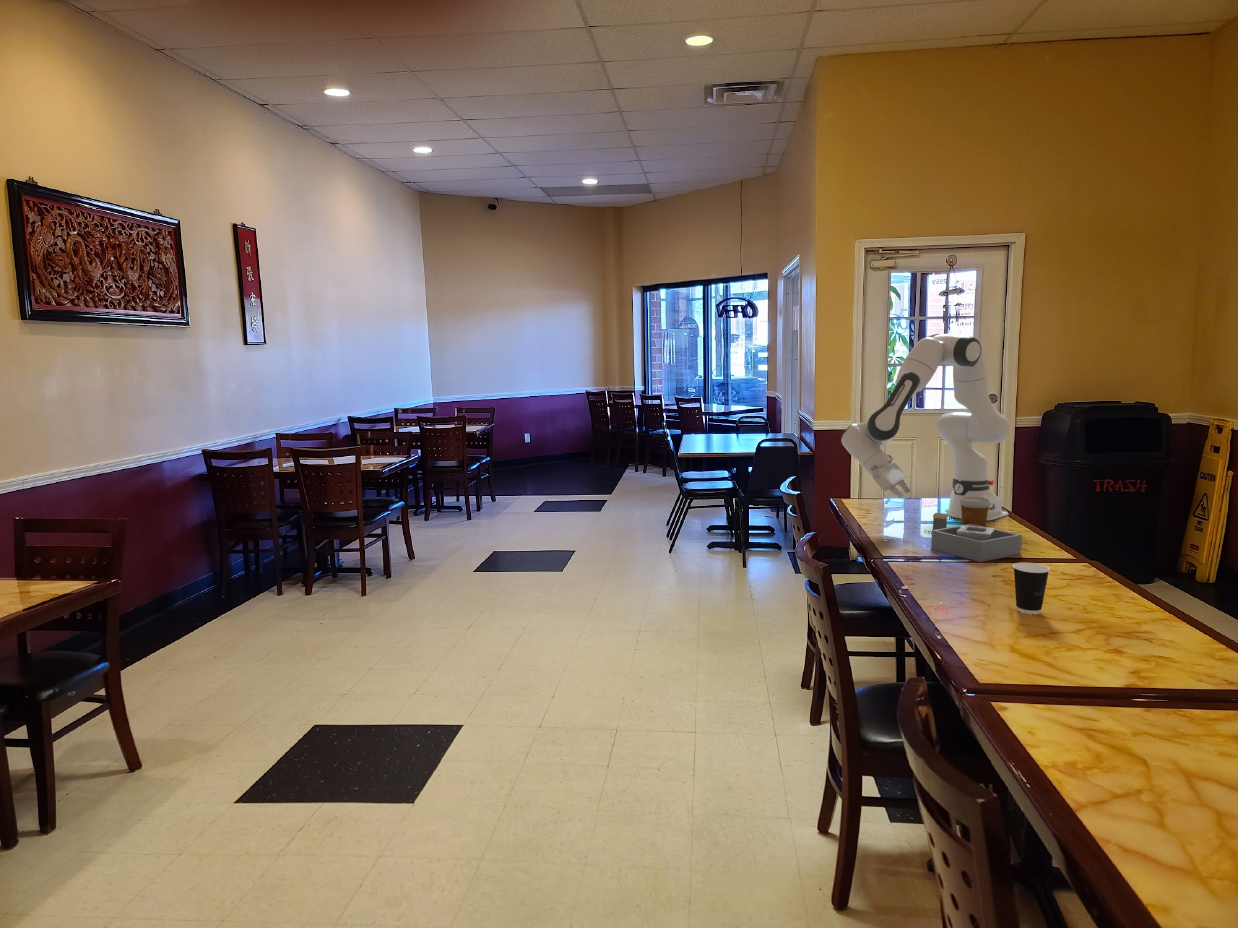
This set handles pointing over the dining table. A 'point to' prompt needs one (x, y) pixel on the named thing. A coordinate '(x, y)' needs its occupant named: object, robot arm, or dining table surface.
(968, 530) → the inlet socket
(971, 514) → the disposable coffee cup
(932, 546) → the walled box
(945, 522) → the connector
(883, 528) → the dining table surface
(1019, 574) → the dixie cup
